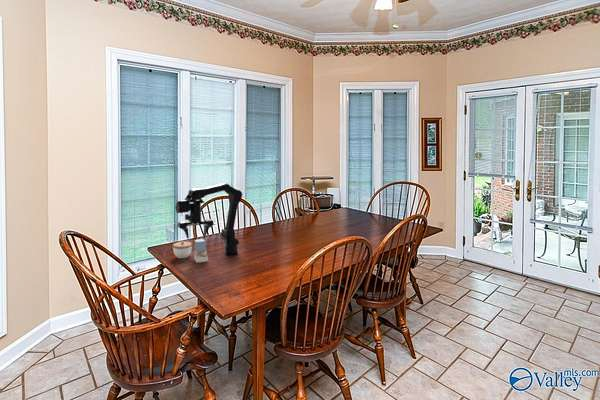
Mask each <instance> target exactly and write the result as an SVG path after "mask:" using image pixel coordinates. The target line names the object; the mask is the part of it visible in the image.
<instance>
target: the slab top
mask: <svg viewBox="0 0 600 400" xmlns="http://www.w3.org/2000/svg"><path fill="white" fill-rule="evenodd" d="M193 252H194V255H195V257H196V258H200V257H208V252H207V250H206V251H204V252H198V253H197V252H196V251H195V249H194V250H193ZM194 255H193V256H194Z"/></svg>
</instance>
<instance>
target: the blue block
mask: <svg viewBox="0 0 600 400" xmlns="http://www.w3.org/2000/svg"><path fill="white" fill-rule="evenodd" d="M194 250H195V251H196V252H197V253H198V252H204V251H207V245H206V240H205V239H204V238H200V239H194Z"/></svg>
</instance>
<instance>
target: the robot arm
mask: <svg viewBox="0 0 600 400" xmlns="http://www.w3.org/2000/svg"><path fill="white" fill-rule="evenodd" d="M220 192H221V193H222V192H225V193H226V194H228V203H229V205H228V212H227V218H226V224H225V227H224V228H222V229H221V233H220V236H221V237H220V238H221V240H222V241H223V242H224V244H225V246H224V254H226V255H227V256H229V257H230V256H234V255H239V253H238V245H239V244H240V243H239V242H240V241H239V239H236V232H235V223H236V217H237V213H238V212H237V210H238V206H239V204H240V202H241V200H242V198H243V192H242V191H241V190H240V189H236V188H234V187H233V186H231V185H230V184H228V183H226V182H222V183H220V184H214V185H212V186H211V185H210V186H208V187H201V188H199V187H195V188H194V187H193V188H191V189H189V190H188V193H187V195H186V197H184V198H185V199H184V200H177V201H176V204H175V212H176V214H183V213H185V214H184V220H183V221H178V222H177V227H178V228H179V229H181V230H183V232H184V234H185V237H186V239H187V240H189V239H190V237H189V228H188V227H189V226H190V227H191V226H201V225H203V239H204V238H206V236H207V234H208V231H209V230H210V228H212V226H214V225H215V224H214V222H215V221H214V220H213V219H211V218H206V219H205V218H204V219H203V220H202V205H201V204H205V201H204V200H203V198H205V197H207V196H209V195H212V194H216V193H220ZM187 221H188V222H187Z"/></svg>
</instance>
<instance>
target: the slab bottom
mask: <svg viewBox="0 0 600 400" xmlns="http://www.w3.org/2000/svg"><path fill="white" fill-rule="evenodd" d="M208 258H209V257H208V256H207V257H200V258H196V257H195V255H193V259H194V261H195V262H196V263H197V264H199V263H204V262H208ZM198 262H199V263H198Z"/></svg>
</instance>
